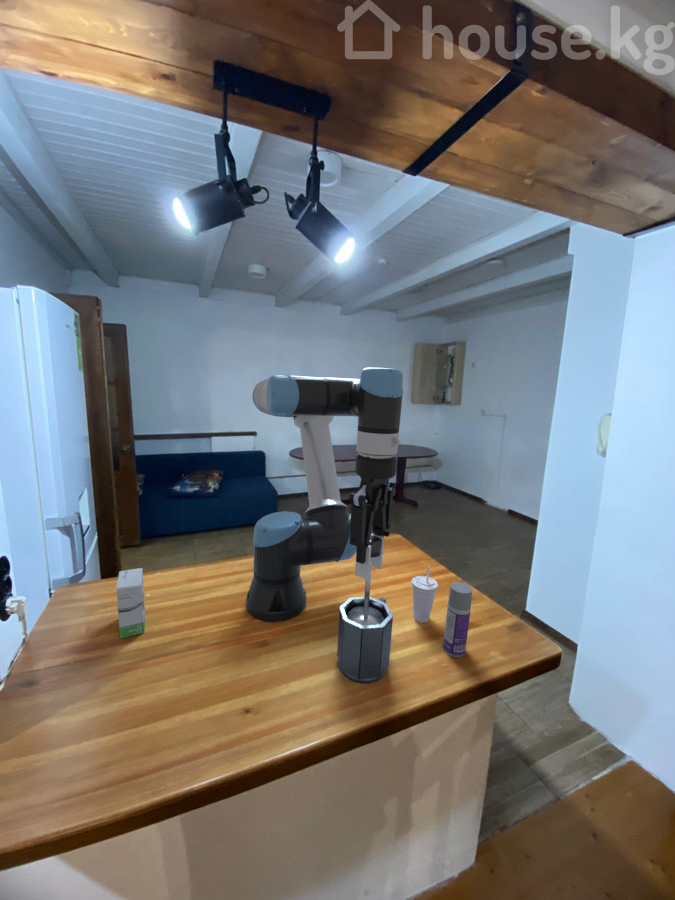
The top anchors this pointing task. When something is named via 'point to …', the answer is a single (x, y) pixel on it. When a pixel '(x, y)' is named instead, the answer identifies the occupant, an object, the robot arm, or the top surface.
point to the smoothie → (423, 596)
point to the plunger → (368, 594)
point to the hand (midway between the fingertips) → (368, 571)
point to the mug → (364, 643)
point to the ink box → (131, 602)
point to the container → (457, 619)
